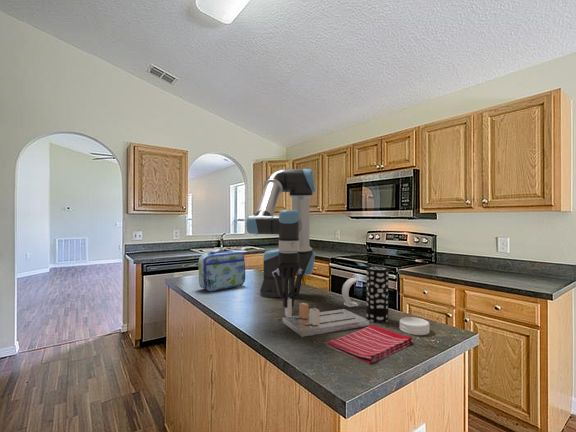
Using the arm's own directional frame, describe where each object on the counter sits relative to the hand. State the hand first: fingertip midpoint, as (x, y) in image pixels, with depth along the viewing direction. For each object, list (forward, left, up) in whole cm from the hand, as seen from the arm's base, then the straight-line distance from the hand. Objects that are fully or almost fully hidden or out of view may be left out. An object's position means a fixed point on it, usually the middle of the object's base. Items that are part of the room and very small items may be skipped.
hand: (288, 315), depth 117 cm
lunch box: (-71, -8, -4) cm, 72 cm away
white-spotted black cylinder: (+7, +36, -4) cm, 36 cm away
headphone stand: (-14, +38, -4) cm, 40 cm away
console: (+4, +14, -4) cm, 15 cm away
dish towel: (+26, +17, -4) cm, 31 cm away
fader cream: (+8, +7, -1) cm, 10 cm away
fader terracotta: (0, +7, -1) cm, 7 cm away
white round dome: (+22, +40, -4) cm, 45 cm away
